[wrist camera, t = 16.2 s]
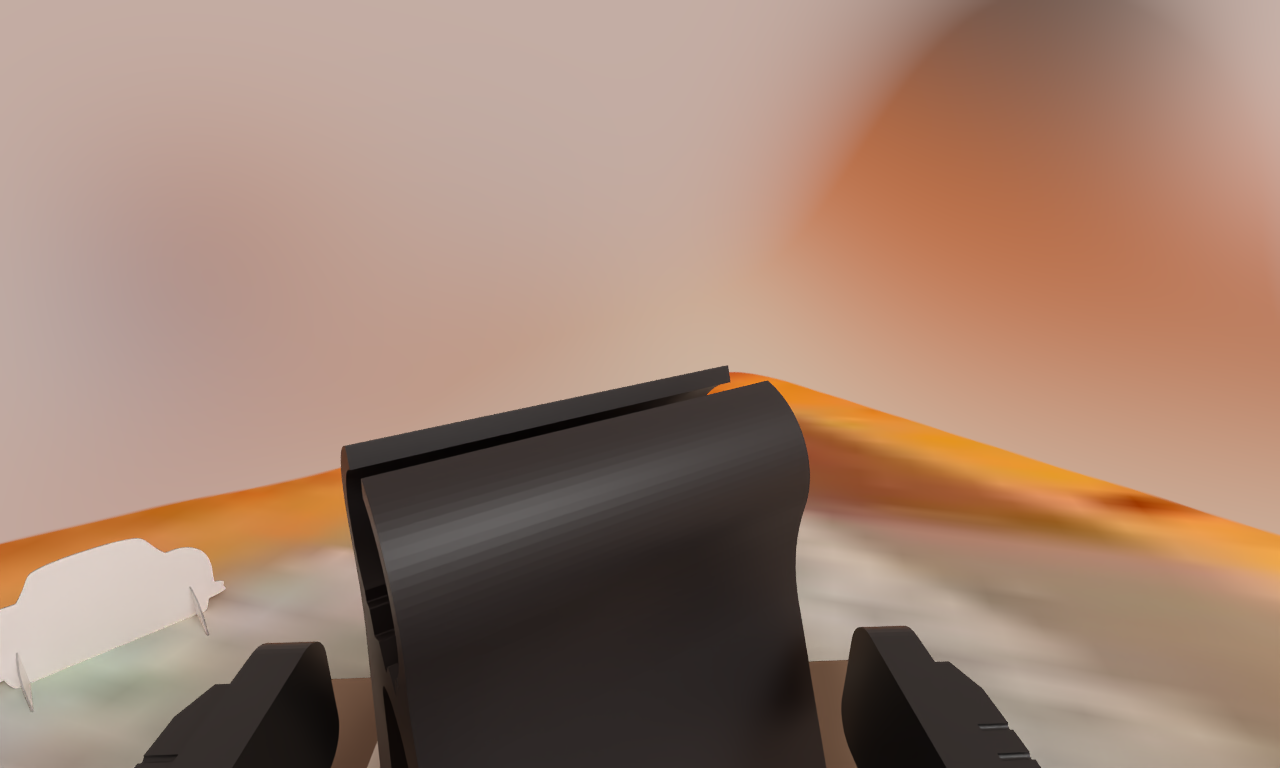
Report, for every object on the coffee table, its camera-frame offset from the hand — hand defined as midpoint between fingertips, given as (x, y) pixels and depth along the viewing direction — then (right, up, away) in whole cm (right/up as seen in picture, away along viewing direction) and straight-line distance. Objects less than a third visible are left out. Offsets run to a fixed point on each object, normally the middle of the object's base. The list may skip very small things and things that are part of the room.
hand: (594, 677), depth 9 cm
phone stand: (0, -7, +3) cm, 8 cm away
